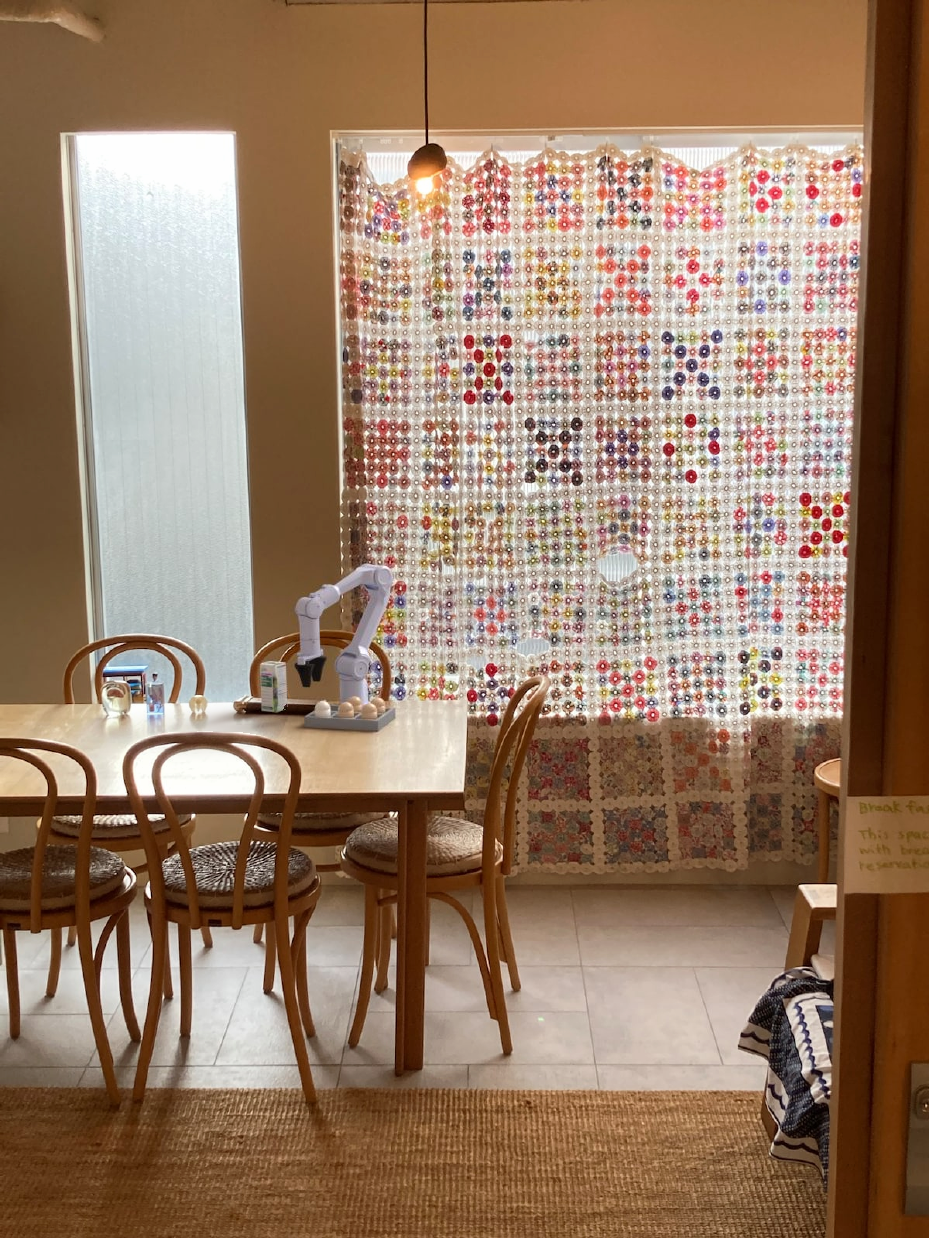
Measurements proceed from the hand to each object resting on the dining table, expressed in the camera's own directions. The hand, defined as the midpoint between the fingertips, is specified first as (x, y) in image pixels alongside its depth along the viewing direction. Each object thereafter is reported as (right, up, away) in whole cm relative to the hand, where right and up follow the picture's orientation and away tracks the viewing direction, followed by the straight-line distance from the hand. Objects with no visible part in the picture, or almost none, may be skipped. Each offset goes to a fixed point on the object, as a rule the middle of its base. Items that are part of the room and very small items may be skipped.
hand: (311, 684), depth 339 cm
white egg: (+4, -10, -9) cm, 15 cm away
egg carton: (+12, -11, -7) cm, 18 cm away
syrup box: (-12, -8, +9) cm, 17 cm away
